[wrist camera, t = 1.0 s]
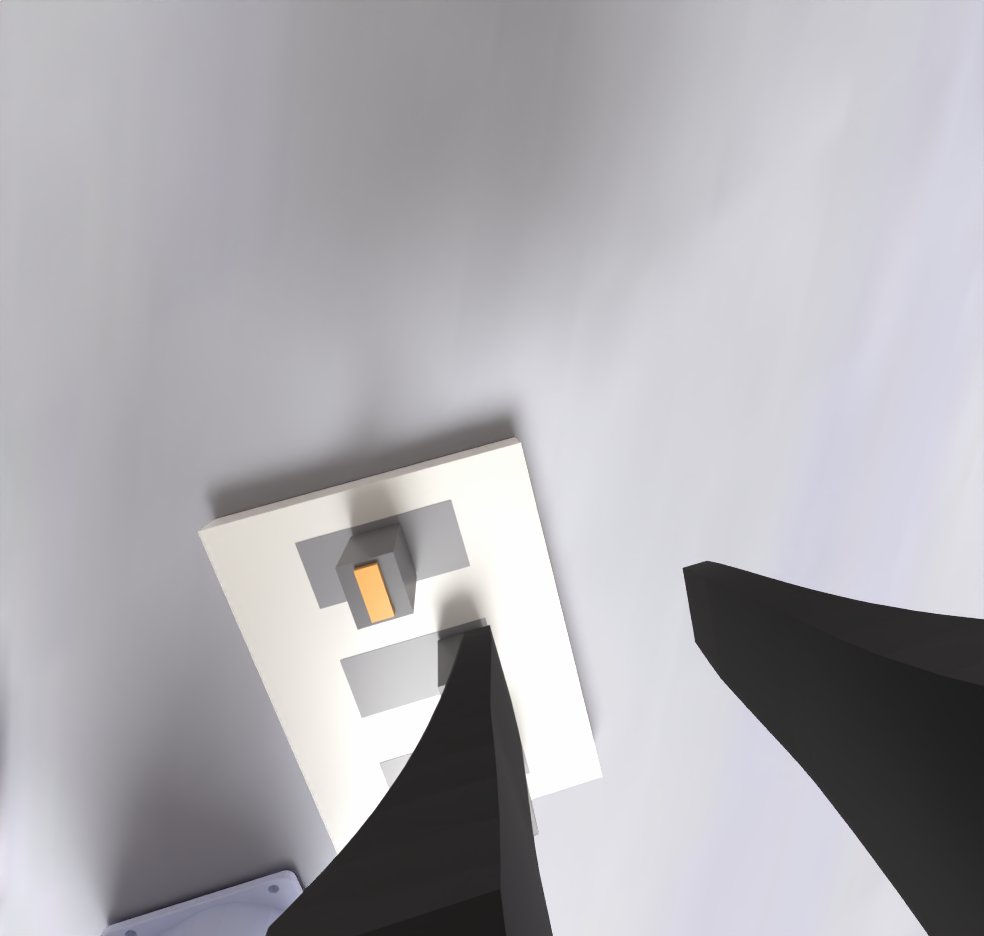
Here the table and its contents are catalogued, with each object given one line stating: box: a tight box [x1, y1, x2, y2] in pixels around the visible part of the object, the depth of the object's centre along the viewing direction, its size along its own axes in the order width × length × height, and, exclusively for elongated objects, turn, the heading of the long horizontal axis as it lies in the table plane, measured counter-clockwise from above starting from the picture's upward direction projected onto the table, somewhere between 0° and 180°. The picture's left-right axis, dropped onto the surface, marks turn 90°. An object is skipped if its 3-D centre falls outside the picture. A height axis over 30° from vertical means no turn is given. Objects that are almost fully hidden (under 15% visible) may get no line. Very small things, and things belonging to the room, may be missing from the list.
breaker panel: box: [197, 437, 602, 855], centre depth 20 cm, size 13×17×5 cm
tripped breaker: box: [335, 523, 417, 630], centre depth 18 cm, size 2×2×3 cm
